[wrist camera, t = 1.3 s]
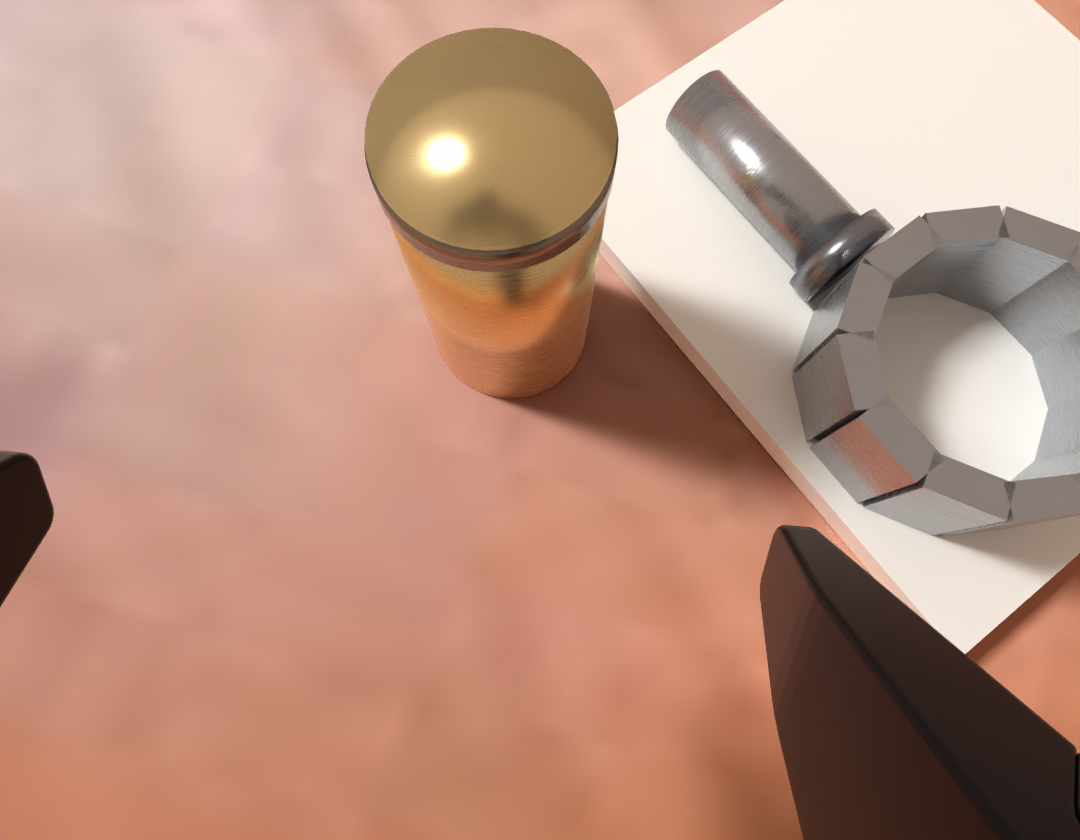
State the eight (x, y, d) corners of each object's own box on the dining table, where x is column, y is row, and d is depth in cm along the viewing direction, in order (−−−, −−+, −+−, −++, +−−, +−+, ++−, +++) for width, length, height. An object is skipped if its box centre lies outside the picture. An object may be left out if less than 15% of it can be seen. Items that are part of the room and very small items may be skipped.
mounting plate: (1337, 309, 24) (1371, 296, 23) (940, 656, 21) (959, 658, 20) (914, -69, 28) (927, -93, 27) (536, 178, 25) (536, 161, 24)
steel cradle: (1285, 288, 23) (1427, 226, 20) (927, 594, 21) (1012, 589, 17) (931, -31, 27) (995, -136, 23) (587, 199, 24) (596, 123, 21)
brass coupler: (619, 341, 24) (671, 154, 14) (494, 430, 23) (459, 297, 13) (527, 230, 25) (518, -14, 15) (405, 312, 24) (313, 109, 14)
